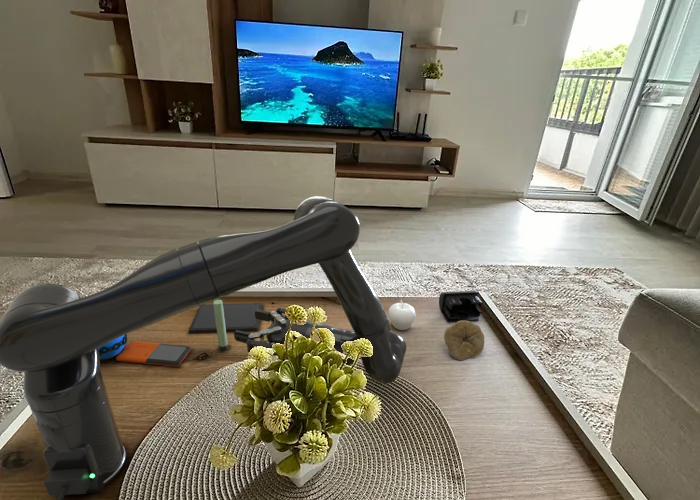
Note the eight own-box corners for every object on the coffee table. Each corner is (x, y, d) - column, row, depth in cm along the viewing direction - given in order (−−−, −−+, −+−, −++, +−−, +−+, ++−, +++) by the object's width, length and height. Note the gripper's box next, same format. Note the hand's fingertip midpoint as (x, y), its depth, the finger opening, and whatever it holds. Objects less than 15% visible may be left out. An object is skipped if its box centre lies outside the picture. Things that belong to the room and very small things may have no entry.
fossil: (439, 328, 95) (474, 314, 97) (434, 332, 99) (468, 318, 101) (456, 364, 92) (492, 348, 94) (450, 366, 96) (485, 351, 98)
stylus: (227, 350, 94) (221, 304, 89) (218, 351, 94) (212, 304, 89) (228, 345, 96) (223, 299, 91) (220, 345, 96) (214, 299, 91)
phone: (131, 339, 95) (191, 345, 94) (133, 344, 96) (192, 349, 94) (114, 357, 89) (177, 363, 88) (115, 361, 90) (178, 368, 88)
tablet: (257, 331, 102) (257, 327, 101) (189, 333, 100) (188, 329, 100) (262, 305, 113) (262, 302, 112) (201, 307, 111) (200, 304, 111)
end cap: (470, 307, 115) (473, 286, 112) (480, 320, 109) (485, 299, 106) (437, 308, 114) (440, 288, 111) (446, 323, 107) (449, 301, 104)
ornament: (80, 369, 87) (68, 332, 83) (98, 344, 95) (87, 309, 91) (122, 366, 88) (112, 329, 84) (135, 342, 96) (127, 307, 92)
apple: (393, 315, 110) (395, 290, 106) (417, 323, 107) (420, 297, 103) (383, 328, 104) (385, 302, 101) (408, 337, 101) (411, 310, 98)
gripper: (323, 307, 90) (260, 294, 94) (296, 344, 77) (225, 327, 82) (324, 334, 93) (262, 320, 97) (298, 374, 80) (229, 356, 85)
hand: (245, 324), depth 90 cm, fingers open, 8 cm apart
